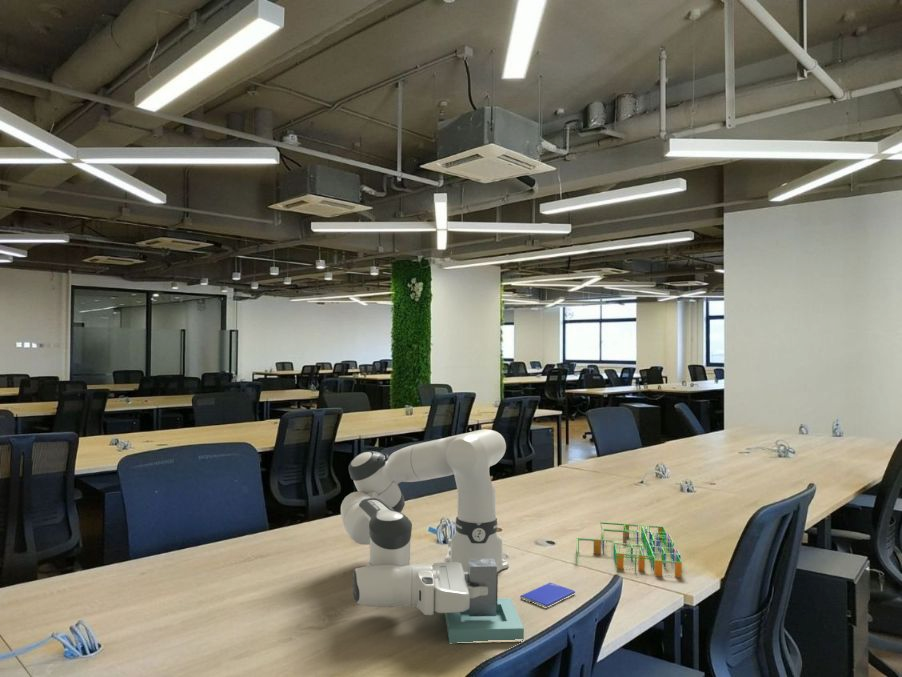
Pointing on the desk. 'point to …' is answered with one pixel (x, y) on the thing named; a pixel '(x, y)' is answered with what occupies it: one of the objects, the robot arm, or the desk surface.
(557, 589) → the blue book
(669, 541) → the house model
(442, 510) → the desk surface
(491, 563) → the block
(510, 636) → the tray
